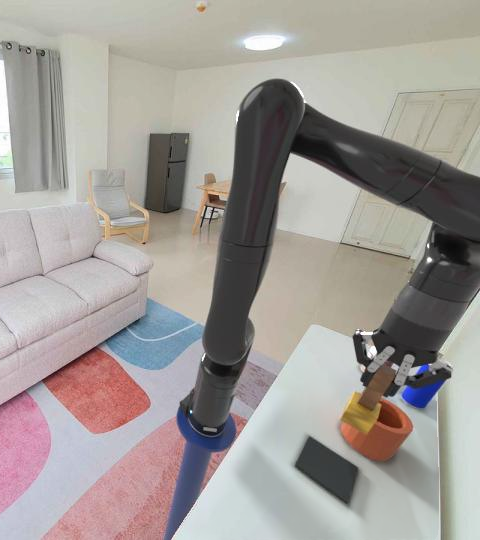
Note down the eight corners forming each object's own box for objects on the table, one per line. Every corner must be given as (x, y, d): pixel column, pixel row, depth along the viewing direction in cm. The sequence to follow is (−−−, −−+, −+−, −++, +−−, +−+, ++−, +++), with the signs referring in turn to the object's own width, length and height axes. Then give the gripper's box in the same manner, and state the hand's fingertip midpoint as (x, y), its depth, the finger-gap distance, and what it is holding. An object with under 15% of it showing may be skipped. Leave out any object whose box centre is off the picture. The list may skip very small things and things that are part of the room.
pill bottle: (389, 378, 90) (407, 351, 85) (373, 381, 89) (390, 354, 84) (370, 364, 96) (385, 337, 91) (355, 366, 94) (369, 339, 89)
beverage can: (425, 402, 83) (454, 363, 76) (423, 413, 80) (455, 373, 73) (401, 391, 86) (428, 352, 79) (399, 401, 83) (427, 362, 76)
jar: (336, 438, 72) (352, 411, 68) (346, 413, 79) (361, 387, 74) (388, 470, 66) (410, 443, 61) (394, 441, 72) (415, 414, 68)
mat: (294, 466, 66) (295, 464, 66) (308, 437, 72) (309, 435, 72) (346, 504, 60) (347, 502, 59) (357, 468, 66) (358, 467, 66)
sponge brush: (339, 419, 59) (370, 368, 53) (344, 406, 62) (374, 357, 56) (366, 435, 56) (401, 383, 50) (370, 421, 59) (404, 370, 53)
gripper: (365, 303, 49) (327, 378, 57) (488, 347, 40) (423, 427, 48) (373, 288, 54) (337, 359, 62) (484, 324, 45) (426, 401, 53)
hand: (375, 389), depth 55 cm, fingers closed on sponge brush, 2 cm apart
